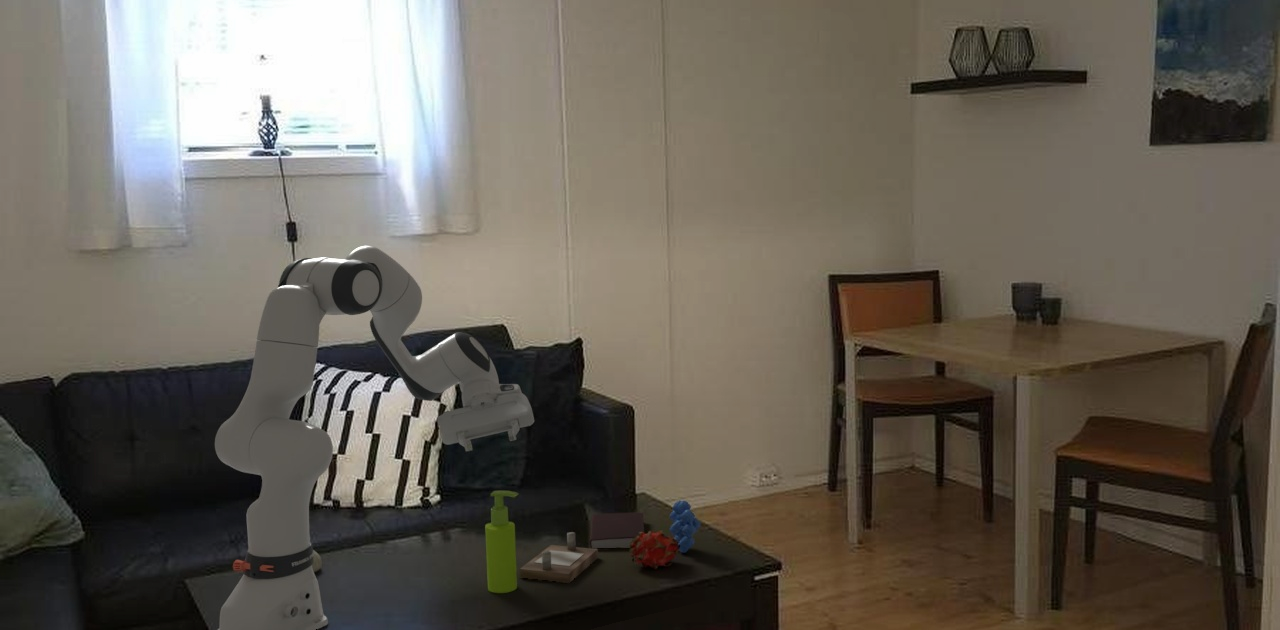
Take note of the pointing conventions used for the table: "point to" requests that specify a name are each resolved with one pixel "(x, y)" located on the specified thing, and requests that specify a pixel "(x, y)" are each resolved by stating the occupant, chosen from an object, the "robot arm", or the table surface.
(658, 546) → the dragon fruit
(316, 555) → the sea urchin shell
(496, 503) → the soap dispenser
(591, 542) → the book
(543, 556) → the pin seat
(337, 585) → the table surface
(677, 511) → the grapes
